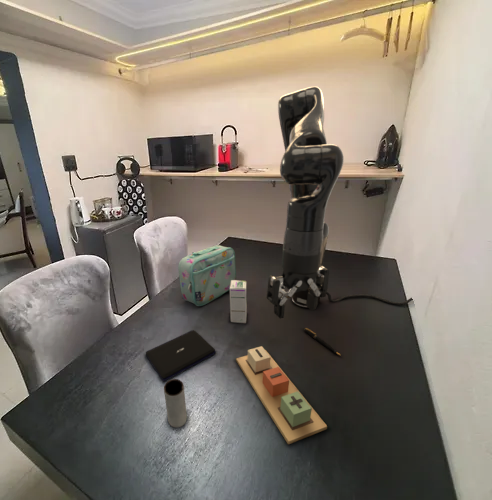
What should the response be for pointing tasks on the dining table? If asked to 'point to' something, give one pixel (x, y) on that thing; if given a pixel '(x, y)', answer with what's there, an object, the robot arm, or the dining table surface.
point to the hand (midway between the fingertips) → (295, 312)
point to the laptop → (179, 354)
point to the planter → (175, 403)
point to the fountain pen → (320, 340)
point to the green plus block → (295, 408)
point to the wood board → (274, 404)
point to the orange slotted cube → (275, 381)
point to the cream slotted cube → (258, 359)
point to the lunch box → (207, 274)
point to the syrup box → (238, 301)
